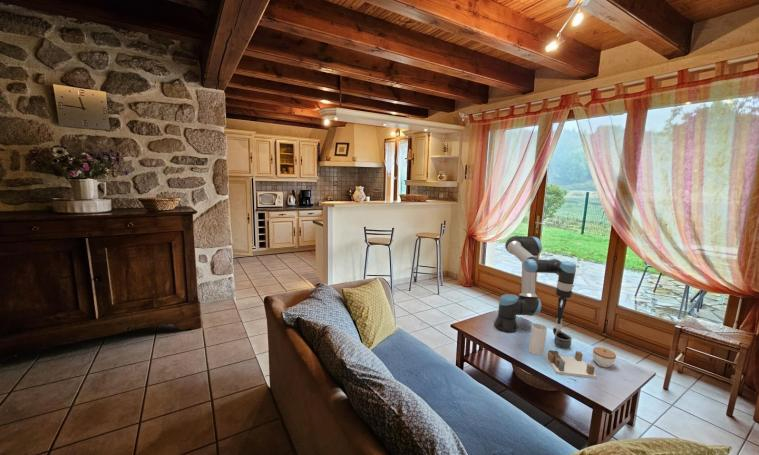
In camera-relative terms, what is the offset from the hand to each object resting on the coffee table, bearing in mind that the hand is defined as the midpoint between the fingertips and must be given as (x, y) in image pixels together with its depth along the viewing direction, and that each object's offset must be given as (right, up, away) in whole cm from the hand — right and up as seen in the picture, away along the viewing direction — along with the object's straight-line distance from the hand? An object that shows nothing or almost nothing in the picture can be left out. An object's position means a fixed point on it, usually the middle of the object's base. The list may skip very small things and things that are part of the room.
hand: (558, 328), depth 183 cm
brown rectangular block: (-3, -18, -3) cm, 19 cm away
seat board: (+4, -21, -3) cm, 21 cm away
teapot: (+12, -17, +21) cm, 30 cm away
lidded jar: (+26, -21, +1) cm, 34 cm away
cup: (-7, -18, +12) cm, 23 cm away
